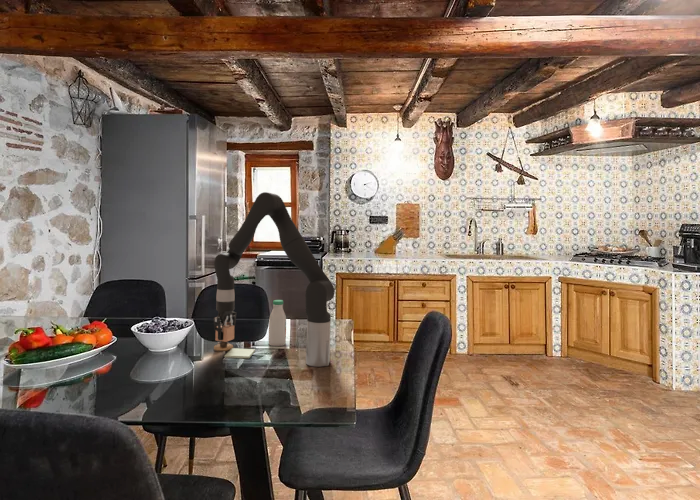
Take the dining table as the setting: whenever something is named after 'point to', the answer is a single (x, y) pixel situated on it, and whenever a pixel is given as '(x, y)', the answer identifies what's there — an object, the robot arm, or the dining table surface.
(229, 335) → the salmon orange cube
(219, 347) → the post
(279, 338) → the milk bottle
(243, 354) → the pad
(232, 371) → the dining table surface
